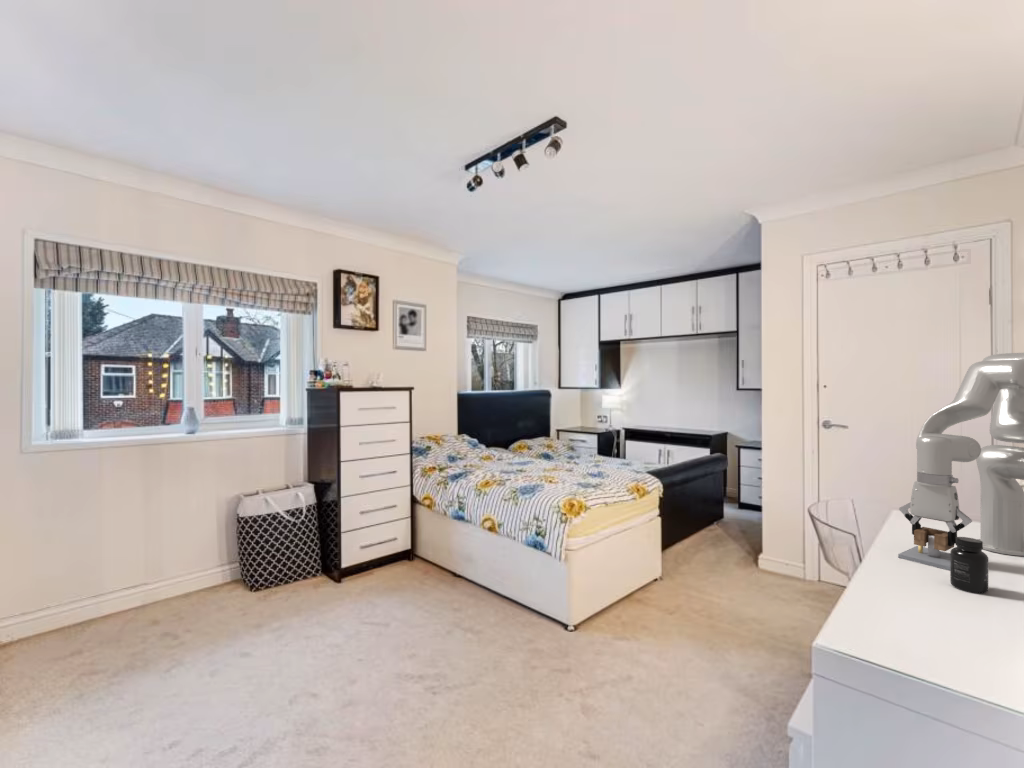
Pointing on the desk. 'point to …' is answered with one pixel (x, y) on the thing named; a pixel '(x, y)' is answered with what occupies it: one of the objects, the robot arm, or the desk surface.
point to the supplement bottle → (969, 565)
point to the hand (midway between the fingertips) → (933, 541)
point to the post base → (927, 555)
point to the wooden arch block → (939, 538)
